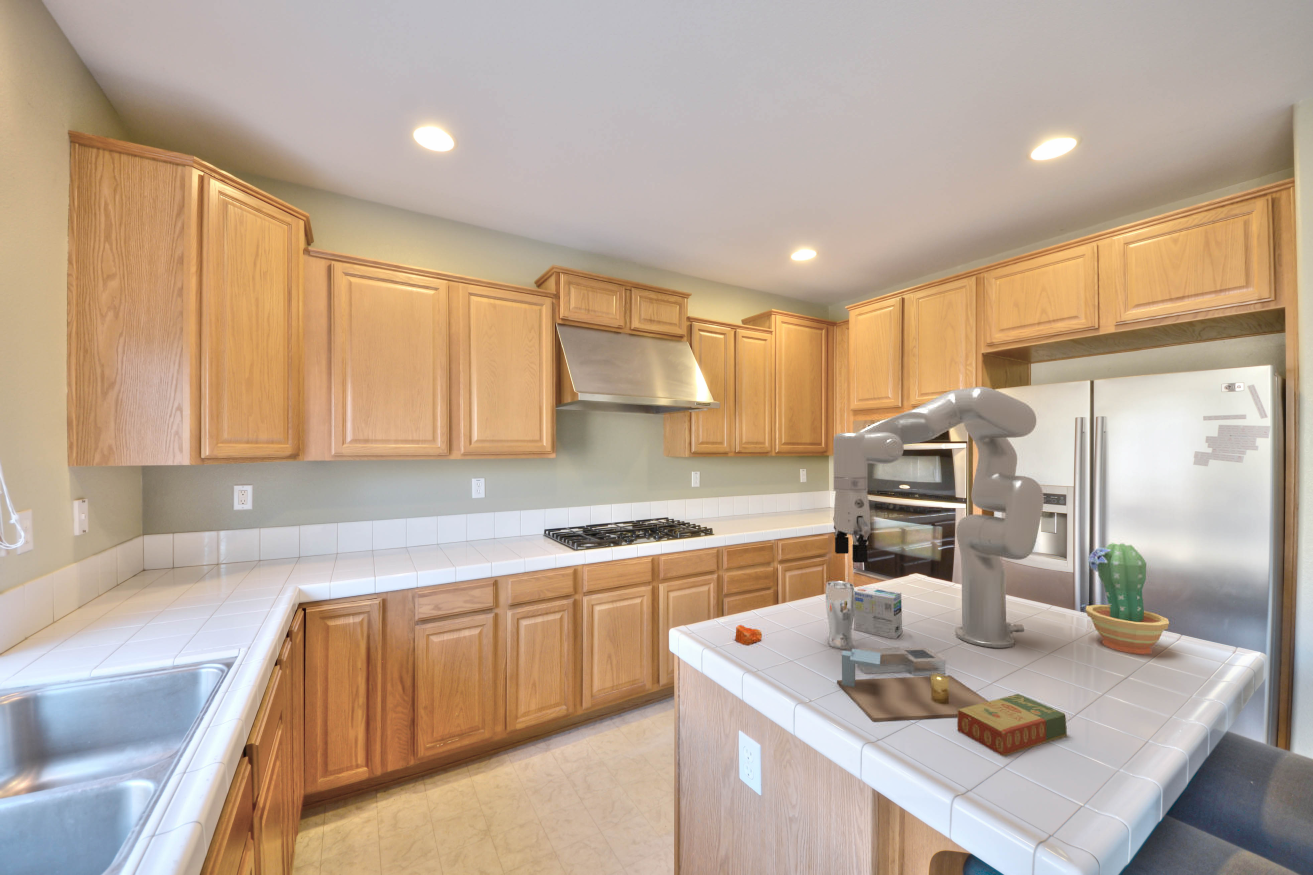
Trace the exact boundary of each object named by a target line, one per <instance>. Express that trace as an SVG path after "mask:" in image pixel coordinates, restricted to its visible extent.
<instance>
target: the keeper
mask: <svg viewBox="0 0 1313 875" xmlns="http://www.w3.org/2000/svg"><path fill="white" fill-rule="evenodd" d="M858 649H859V648H851V650H850V651H848V650H842V651H841V652H842V653H841V680H842V685H844V686H849V687H855V680H856V666H857V665H862V666H869V667H875V668H880V658H881V653H877V652H871V651H864V650H858Z"/></svg>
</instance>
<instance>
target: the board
mask: <svg viewBox="0 0 1313 875" xmlns="http://www.w3.org/2000/svg"><path fill="white" fill-rule="evenodd" d="M945 675H946V674H945ZM946 676H947V677H948V678H949V703H948V704H939V703H936V702H934V701H932V699H931V675H922V676H905V677H904V676H903V677H883V678H882V677H880V678H879V677H878V678H861V679H859V678H858V679H856V678H855V687H849V686H844V685H842V679H838V680H837V679H836V684H837V686H839V687H840V688H841V689H842V690H843V691H844V692H845V694H847V695H848V696H849V697H850V699H851V700H852V701H853V702H854V703H855V704H856V705H857V706H858V707H859V708H860V709H861V710H862V711H863V712H864V713H865V715H867V717H869V718H870V720H871V721H873V722H874V723H875V722H889V721H908V720H909V721H910V720H925V719H926V720H929V719H946V718H958V709H962V708H966V707H970V706H974V705H977V704H981V703H985V702H989V700H988V699H986V698H985V697H983V696H981V695H980V694H979V693H977V692H976V691H974V690H973V689H971V688H970V687H969V686H967V685H966V684H964V683H962V682H961V681H959V680H958V679H957V678H955V677H953V676H952V675H950V674H947V675H946Z"/></svg>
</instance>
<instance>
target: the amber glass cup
mask: <svg viewBox="0 0 1313 875" xmlns="http://www.w3.org/2000/svg"><path fill="white" fill-rule="evenodd" d="M930 676H931V699H932V701H934V702H936V703H939V704H948V703H949V678H948V677H947V676H946V674H939V673H933V674H931V675H930Z"/></svg>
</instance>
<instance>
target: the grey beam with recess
mask: <svg viewBox="0 0 1313 875" xmlns="http://www.w3.org/2000/svg"><path fill="white" fill-rule="evenodd" d="M857 649H858V650H864V651H871V652H877V653H881V658H880V668H875V667H869V666H862V665H856V666H857V668H858V669H859V670H860V671H861V672H862V673H863V674H866V675H867V674H889V673H890V674H891V673H909V674H911V675H912V676H913V677H916V676H931V674H933V673H939V674H943V675H946V659H944V658H942V657H941V656H939V655H938V654H936V653H935V652H933V651H932V650H930V649H929V648H927V647H924V646H922V647H900V646H899V647H898V646H897V647H895V646H894V647H872V648H871V647H870V648H857Z"/></svg>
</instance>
